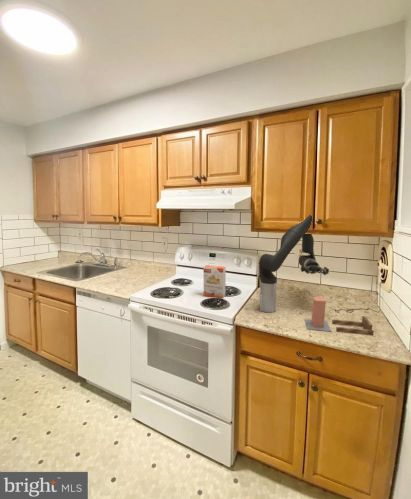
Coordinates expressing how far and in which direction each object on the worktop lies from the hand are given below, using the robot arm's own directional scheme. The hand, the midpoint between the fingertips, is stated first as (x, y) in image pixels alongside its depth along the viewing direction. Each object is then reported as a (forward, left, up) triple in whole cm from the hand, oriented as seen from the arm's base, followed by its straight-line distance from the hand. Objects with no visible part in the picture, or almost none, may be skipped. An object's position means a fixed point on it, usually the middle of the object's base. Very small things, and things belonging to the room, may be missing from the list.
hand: (316, 272), depth 138 cm
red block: (0, -11, -25) cm, 27 cm away
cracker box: (-60, +19, -25) cm, 68 cm away
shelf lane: (+16, -11, -25) cm, 32 cm away
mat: (0, -11, -25) cm, 28 cm away
